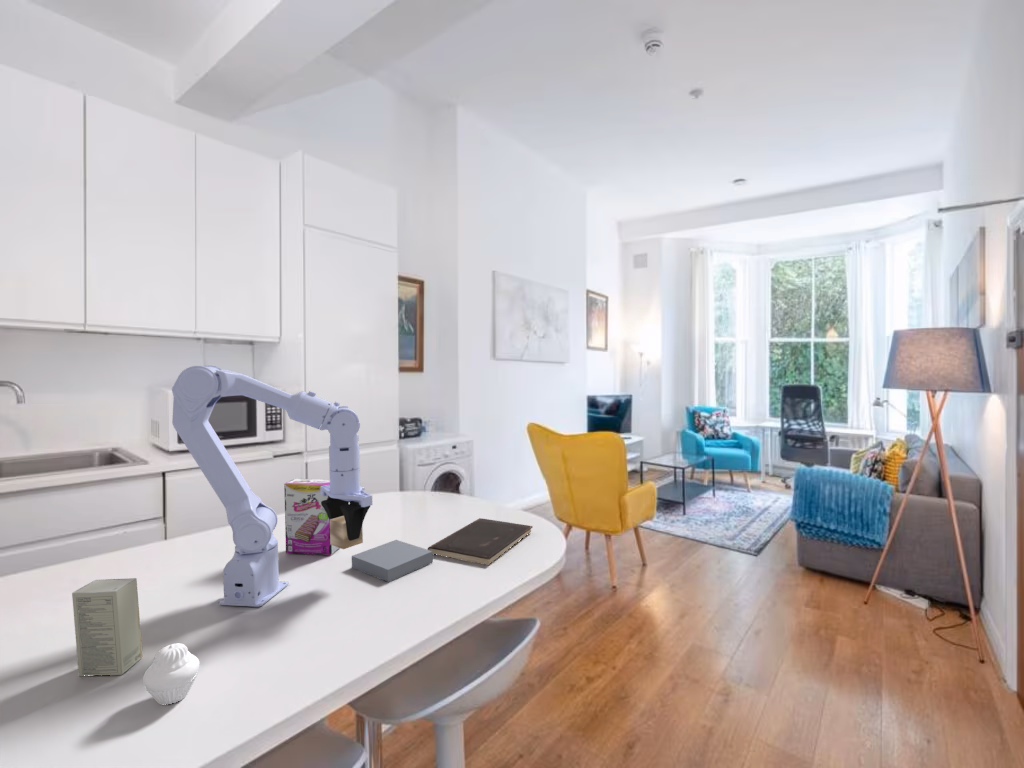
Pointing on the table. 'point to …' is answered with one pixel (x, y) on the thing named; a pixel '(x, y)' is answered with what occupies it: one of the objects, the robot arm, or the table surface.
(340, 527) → the oak block
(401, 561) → the slate base
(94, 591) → the skincare box
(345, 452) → the robot arm
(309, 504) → the candy bar box
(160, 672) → the muffin
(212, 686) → the table surface
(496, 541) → the hardcover book
